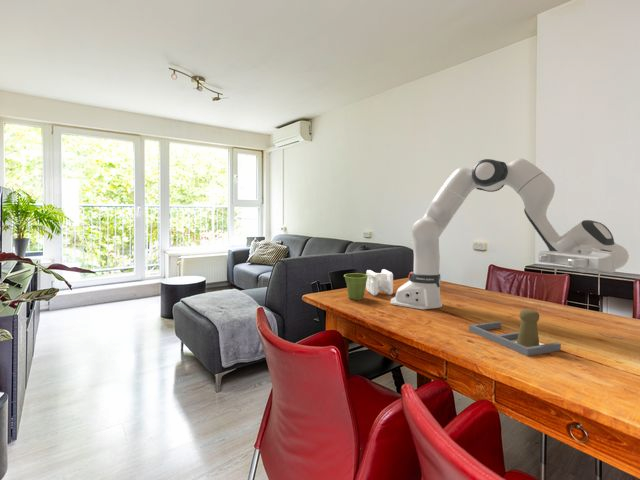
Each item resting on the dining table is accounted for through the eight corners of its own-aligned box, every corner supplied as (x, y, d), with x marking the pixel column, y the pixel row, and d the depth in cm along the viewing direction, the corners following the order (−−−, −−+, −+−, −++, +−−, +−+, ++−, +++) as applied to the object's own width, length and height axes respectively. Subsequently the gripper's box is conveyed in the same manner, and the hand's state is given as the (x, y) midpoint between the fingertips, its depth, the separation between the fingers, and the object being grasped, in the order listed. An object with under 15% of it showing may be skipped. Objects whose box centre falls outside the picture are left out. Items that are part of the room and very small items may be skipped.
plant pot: (339, 297, 167) (339, 274, 166) (360, 294, 172) (360, 272, 171) (351, 302, 156) (351, 278, 156) (373, 299, 161) (373, 276, 161)
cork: (515, 340, 109) (517, 306, 108) (537, 343, 106) (539, 308, 105) (517, 347, 103) (519, 311, 102) (541, 350, 101) (543, 313, 100)
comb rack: (498, 326, 123) (498, 321, 123) (560, 350, 101) (560, 343, 101) (468, 330, 118) (469, 325, 118) (527, 356, 97) (527, 349, 97)
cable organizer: (393, 296, 168) (394, 273, 167) (373, 297, 167) (373, 273, 166) (384, 290, 183) (384, 268, 182) (364, 290, 181) (365, 269, 180)
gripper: (555, 246, 120) (526, 247, 116) (622, 252, 101) (590, 254, 97) (554, 264, 121) (525, 266, 116) (621, 273, 102) (589, 276, 97)
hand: (555, 260), depth 106 cm, fingers open, 8 cm apart
